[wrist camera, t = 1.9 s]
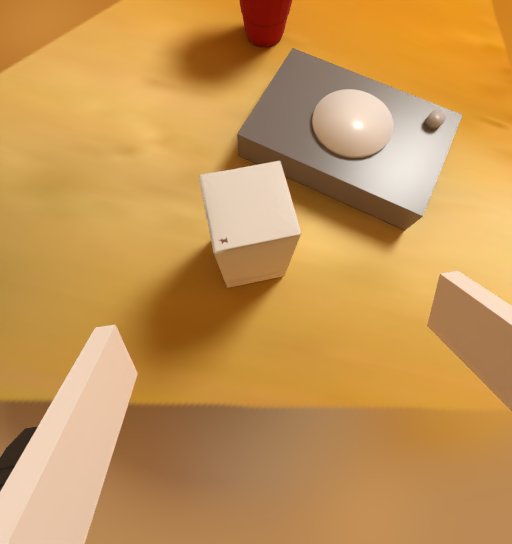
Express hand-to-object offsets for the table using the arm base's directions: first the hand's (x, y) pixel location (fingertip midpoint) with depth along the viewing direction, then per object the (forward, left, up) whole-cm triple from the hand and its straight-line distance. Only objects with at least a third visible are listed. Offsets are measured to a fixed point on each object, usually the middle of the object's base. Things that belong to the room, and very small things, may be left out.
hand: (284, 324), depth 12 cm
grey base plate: (-2, +28, -21) cm, 36 cm away
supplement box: (-6, +8, -22) cm, 24 cm away
